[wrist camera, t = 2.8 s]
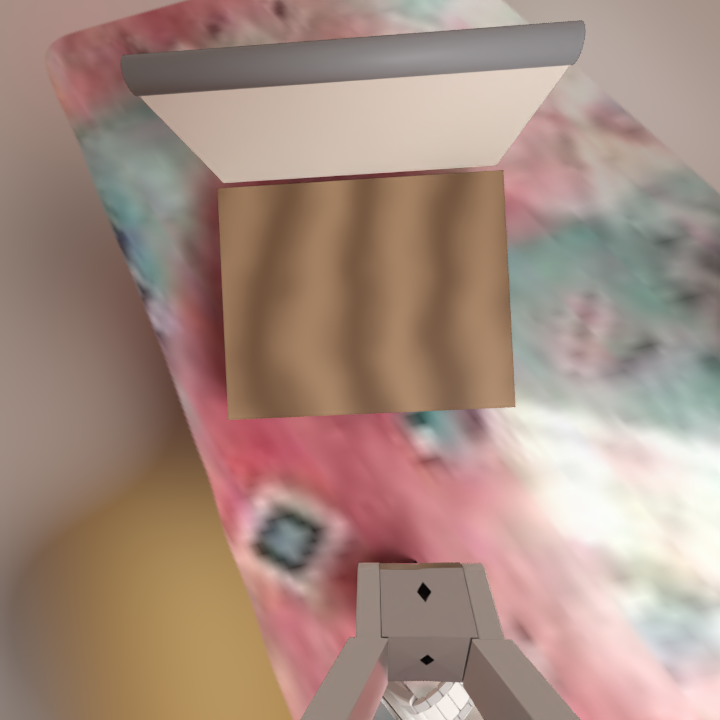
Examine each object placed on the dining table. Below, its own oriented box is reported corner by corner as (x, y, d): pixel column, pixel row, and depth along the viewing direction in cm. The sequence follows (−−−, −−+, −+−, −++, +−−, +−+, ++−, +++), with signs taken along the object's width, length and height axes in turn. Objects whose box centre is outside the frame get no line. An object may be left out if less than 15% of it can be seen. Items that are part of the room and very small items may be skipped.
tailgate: (495, 146, 30) (585, 10, 17) (496, 168, 30) (585, 48, 17) (222, 164, 30) (119, 46, 18) (224, 185, 30) (122, 82, 18)
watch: (358, 603, 34) (351, 720, 23) (432, 548, 34) (461, 639, 23) (397, 656, 34) (409, 799, 23) (471, 601, 33) (520, 718, 22)
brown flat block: (487, 193, 34) (503, 170, 30) (498, 401, 33) (515, 407, 29) (235, 208, 34) (217, 188, 30) (245, 412, 34) (228, 419, 30)
